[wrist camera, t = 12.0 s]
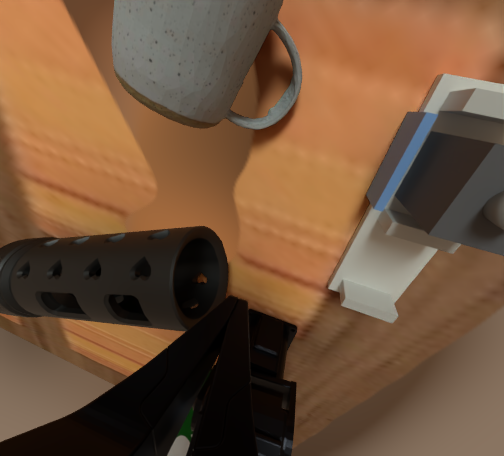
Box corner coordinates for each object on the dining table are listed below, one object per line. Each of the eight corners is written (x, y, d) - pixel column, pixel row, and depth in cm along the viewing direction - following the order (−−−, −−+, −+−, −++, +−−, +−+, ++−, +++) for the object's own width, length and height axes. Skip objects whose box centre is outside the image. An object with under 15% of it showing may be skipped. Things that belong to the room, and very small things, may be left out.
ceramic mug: (157, 79, 18) (65, 64, 11) (191, -63, 13) (70, -226, 7) (265, 153, 18) (237, 178, 12) (332, 41, 14) (346, -17, 7)
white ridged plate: (387, 303, 22) (397, 331, 19) (322, 281, 22) (322, 305, 20) (549, 96, 12) (617, 92, 9) (427, 73, 13) (455, 63, 10)
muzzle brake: (239, 277, 26) (197, 363, 17) (82, 276, 35) (3, 331, 26) (216, 202, 22) (146, 266, 13) (46, 224, 31) (-61, 269, 22)
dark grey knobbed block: (452, 210, 16) (536, 275, 9) (394, 195, 16) (439, 247, 10) (500, 145, 13) (654, 176, 7) (431, 130, 14) (518, 147, 8)
